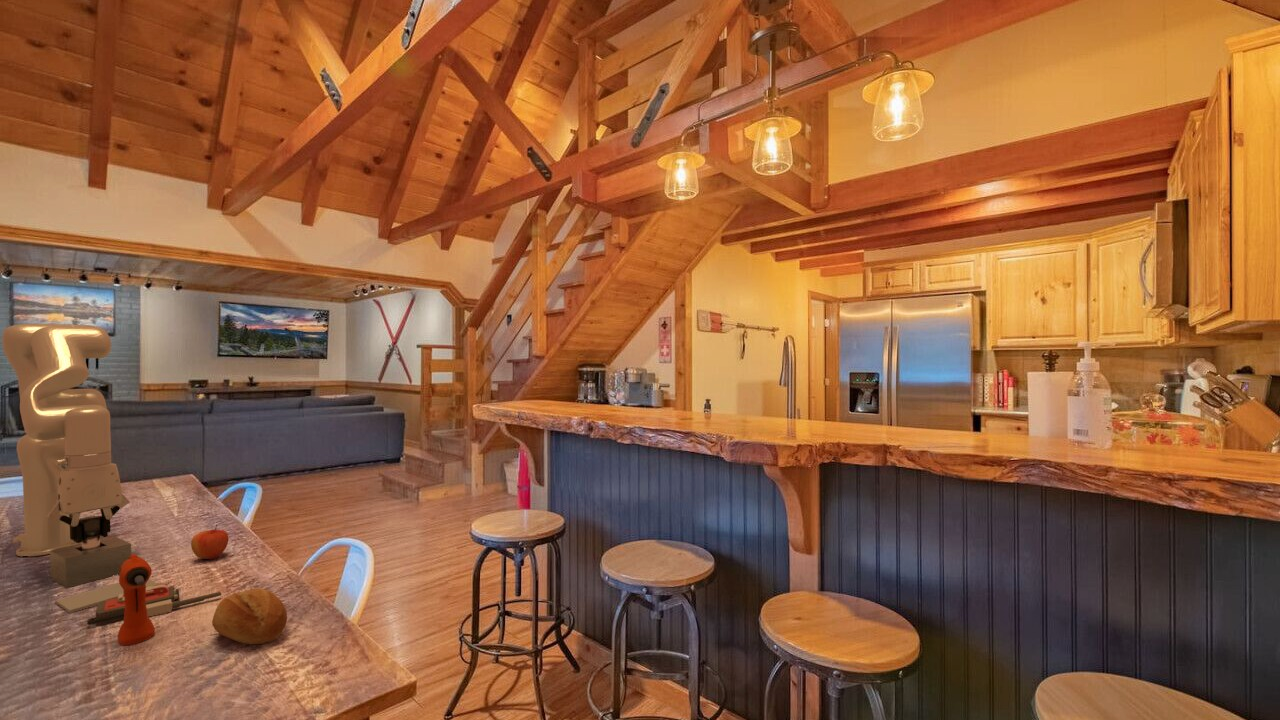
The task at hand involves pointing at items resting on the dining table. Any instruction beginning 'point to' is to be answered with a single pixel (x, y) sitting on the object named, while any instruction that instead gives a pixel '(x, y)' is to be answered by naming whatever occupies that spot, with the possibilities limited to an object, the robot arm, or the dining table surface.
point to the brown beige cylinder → (91, 532)
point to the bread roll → (250, 616)
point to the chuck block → (88, 562)
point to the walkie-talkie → (155, 604)
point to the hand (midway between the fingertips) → (90, 538)
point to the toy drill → (135, 601)
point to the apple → (209, 543)
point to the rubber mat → (94, 597)
